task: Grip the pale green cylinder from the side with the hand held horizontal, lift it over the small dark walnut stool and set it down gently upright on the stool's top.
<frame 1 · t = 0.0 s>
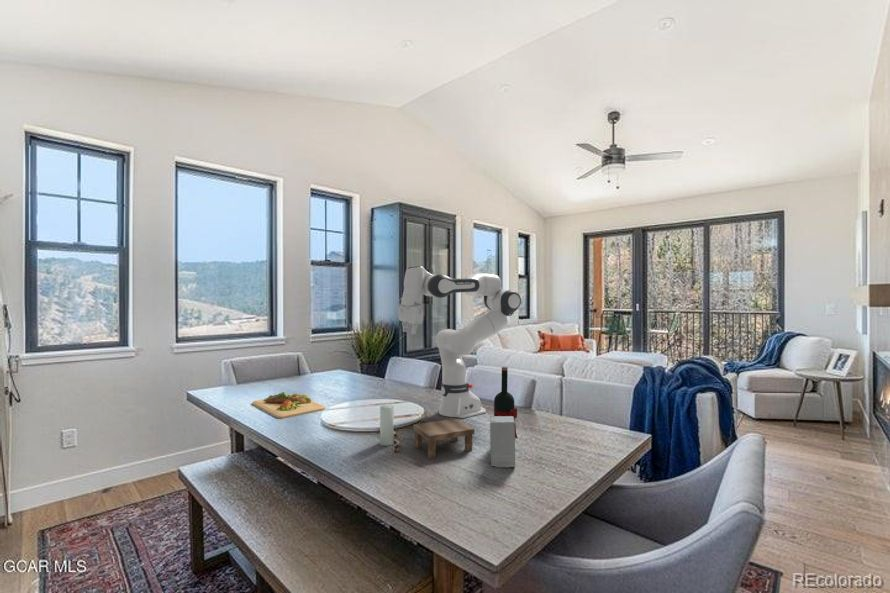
hand: (408, 332, 198), 39 cm above the table, tool pointing down, fingers open, 8 cm apart
cutting board: (288, 408, 218), on the table
walnut stool: (443, 448, 164), on the table
pale green cylinder: (386, 443, 169), on the table
wine bottle: (505, 448, 165), on the table
skincare box: (502, 465, 150), on the table
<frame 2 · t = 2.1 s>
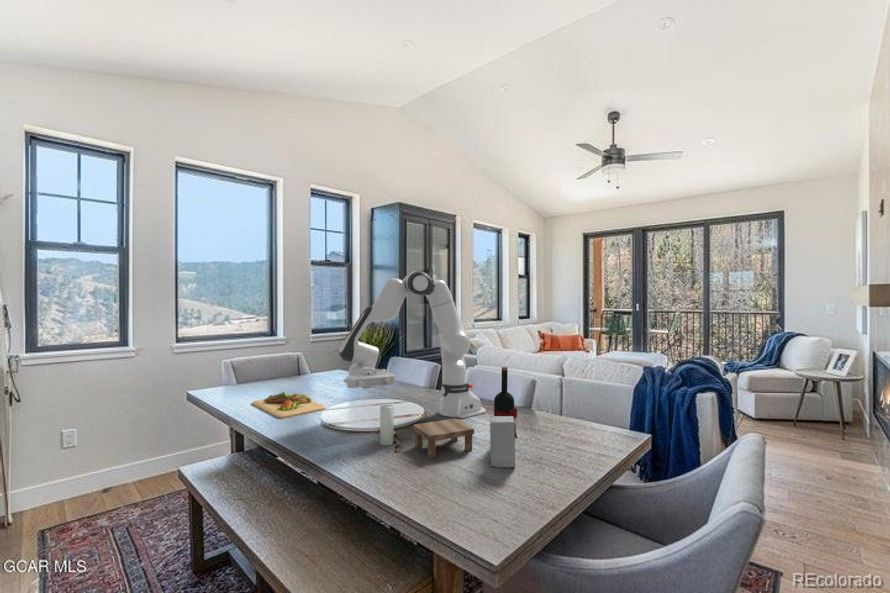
hand: (376, 384, 179), 20 cm above the table, tool horizontal, fingers open, 8 cm apart
nothing on the table moved.
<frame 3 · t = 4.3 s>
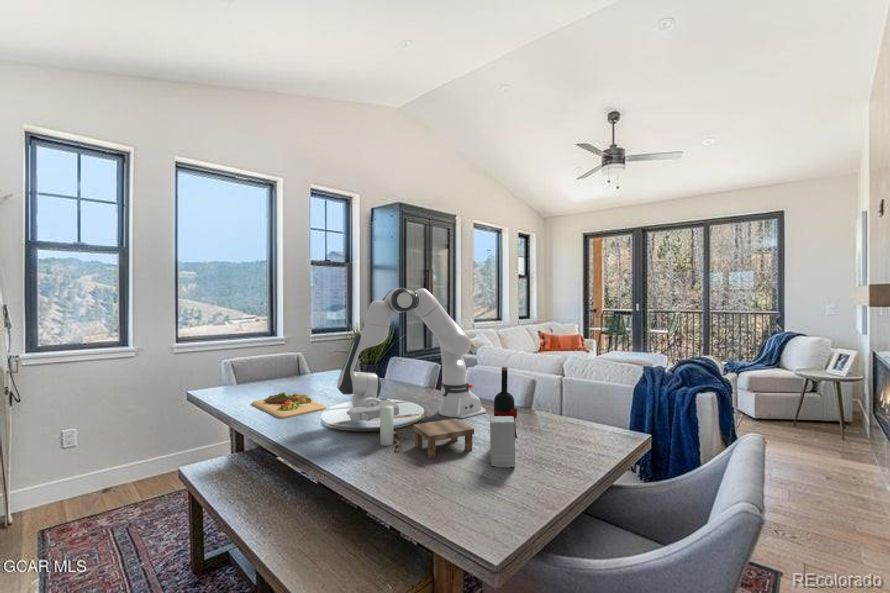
hand: (380, 417, 175), 8 cm above the table, tool horizontal, fingers open, 8 cm apart
nothing on the table moved.
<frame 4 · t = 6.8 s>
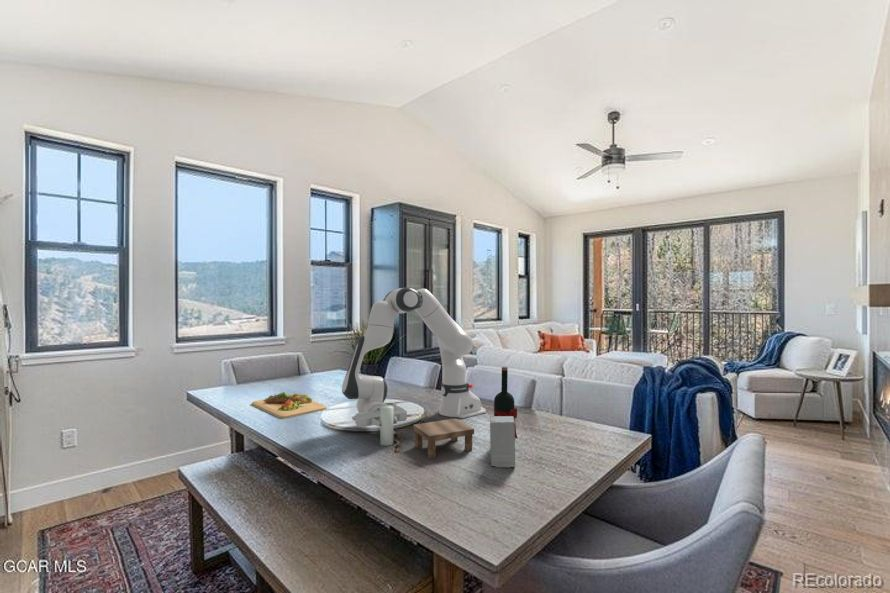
hand: (387, 422, 168), 8 cm above the table, tool horizontal, fingers closed on pale green cylinder, 5 cm apart
pale green cylinder: (386, 443, 169), on the table, touching gripper
everything else where it was.
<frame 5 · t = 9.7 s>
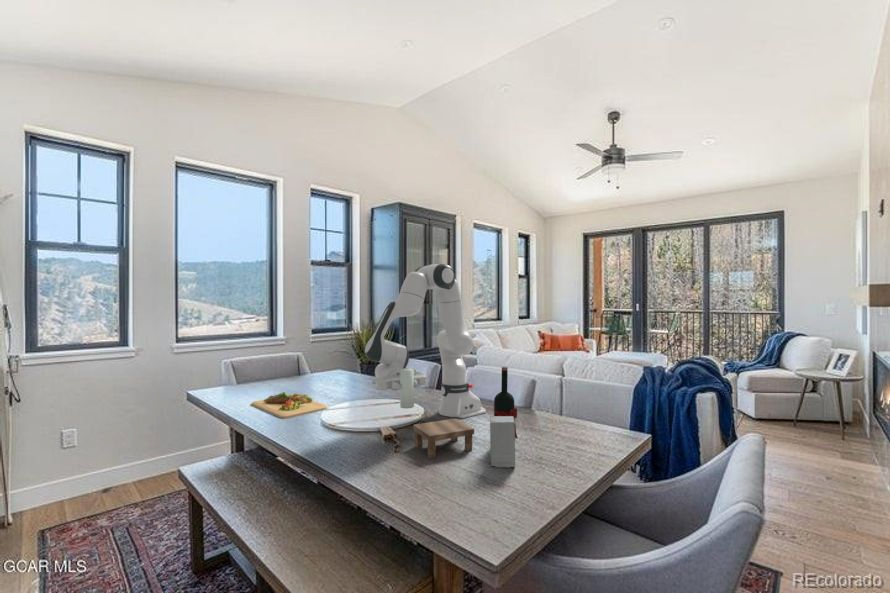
hand: (408, 385, 166), 23 cm above the table, tool horizontal, fingers closed on pale green cylinder, 5 cm apart
pale green cylinder: (407, 406, 167), point 14 cm above the table, touching gripper
everything else where it was.
when the fingers open (17 cm above the table, at t = 12.7 s): pale green cylinder drops 1 cm, resting on walnut stool.
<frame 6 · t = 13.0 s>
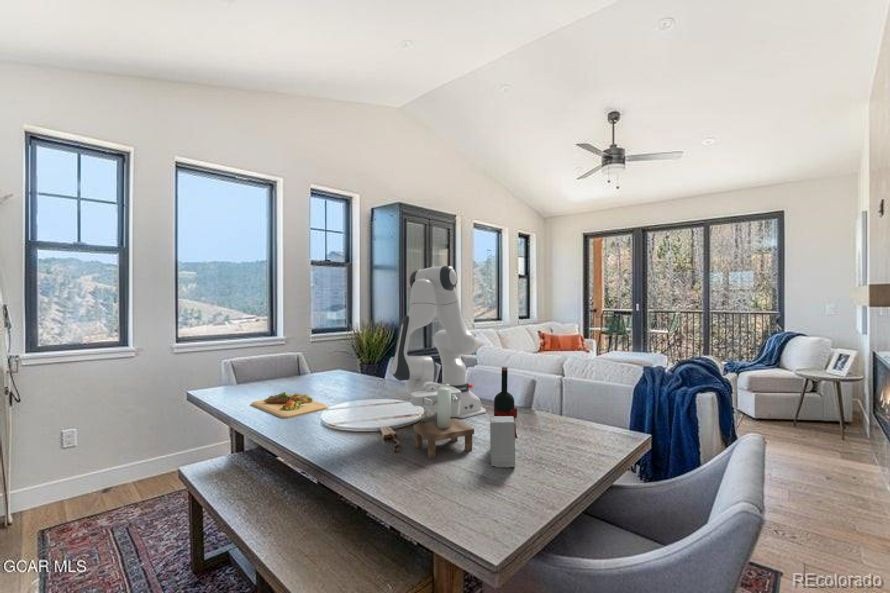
hand: (444, 401, 163), 17 cm above the table, tool horizontal, fingers open, 8 cm apart
pale green cylinder: (443, 426, 164), point 8 cm above the table, touching walnut stool
everything else where it was.
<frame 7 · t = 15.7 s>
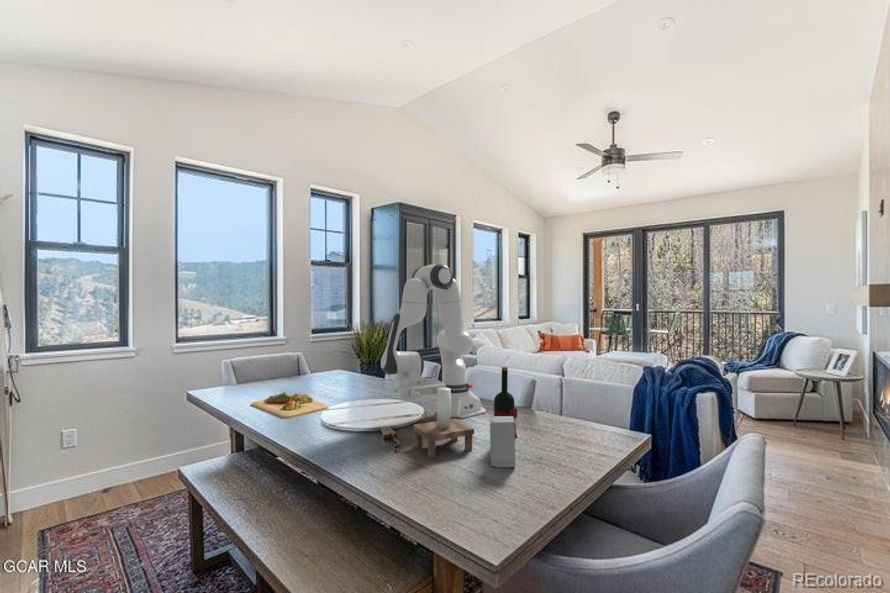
hand: (429, 393, 175), 17 cm above the table, tool horizontal, fingers open, 8 cm apart
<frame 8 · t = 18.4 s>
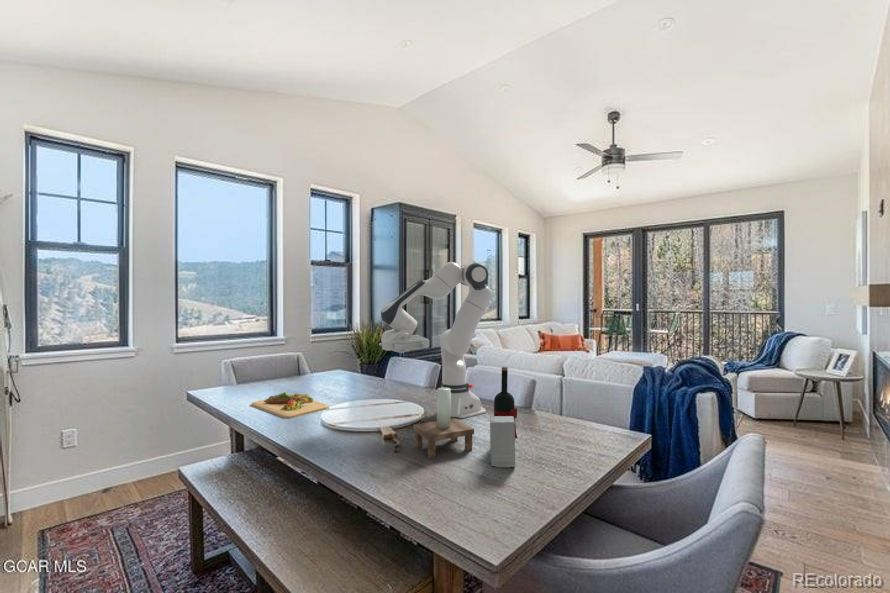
hand: (412, 346, 182), 35 cm above the table, tool horizontal, fingers open, 8 cm apart
at the end: pale green cylinder inside the target area on the walnut stool (0.1 cm from its centre), point 8.0 cm above the walnut stool's base; pale green cylinder tilted 0°; the gripper is holding nothing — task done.
